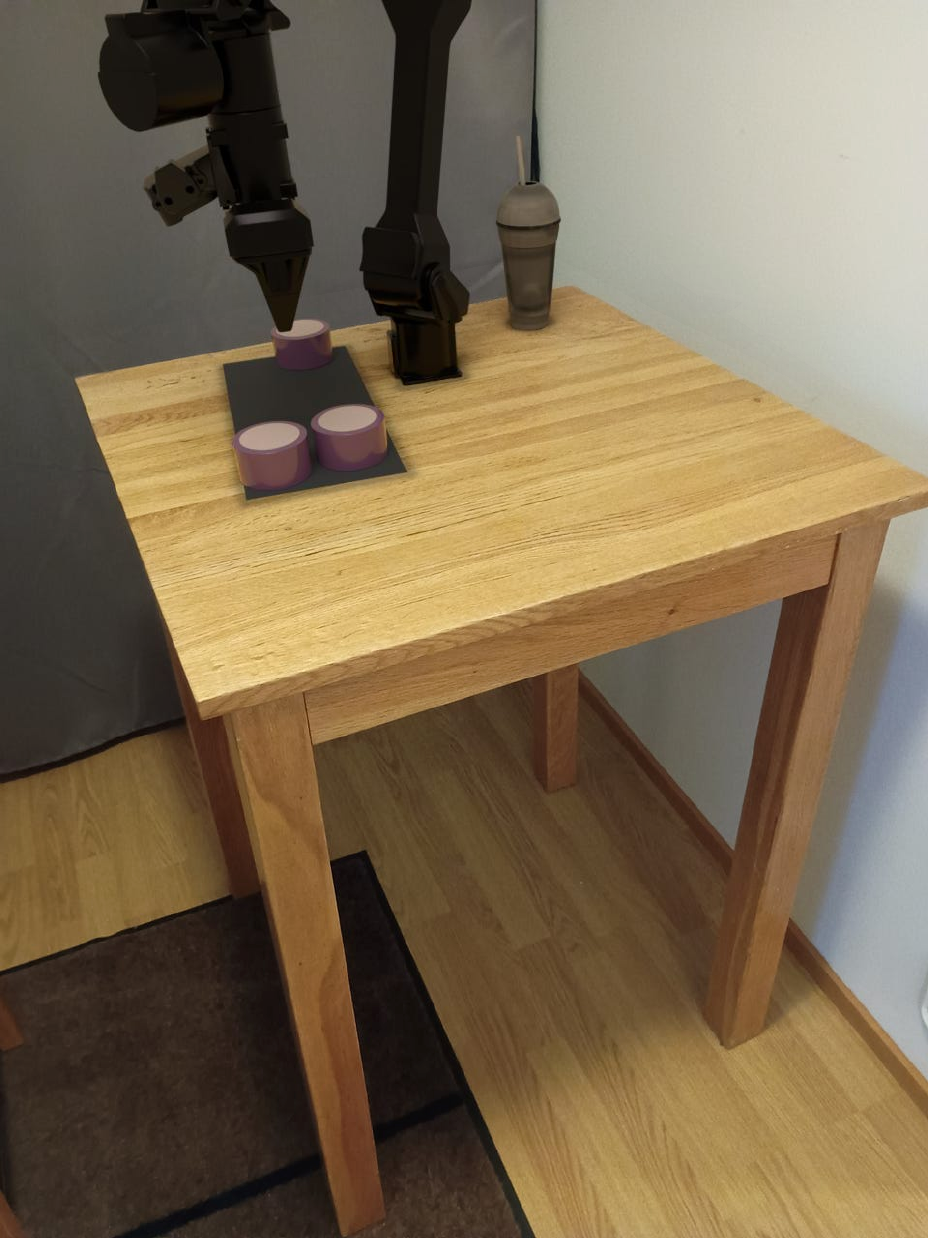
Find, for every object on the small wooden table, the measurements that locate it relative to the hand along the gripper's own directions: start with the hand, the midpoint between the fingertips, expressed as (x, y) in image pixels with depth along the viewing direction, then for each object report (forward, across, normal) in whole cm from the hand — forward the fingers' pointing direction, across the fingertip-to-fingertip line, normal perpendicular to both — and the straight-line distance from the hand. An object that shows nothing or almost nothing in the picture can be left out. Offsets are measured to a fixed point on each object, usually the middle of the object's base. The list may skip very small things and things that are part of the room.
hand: (280, 313), depth 79 cm
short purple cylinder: (+12, -22, +2) cm, 25 cm away
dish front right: (+12, +5, -3) cm, 14 cm away
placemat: (+12, -8, +1) cm, 15 cm away
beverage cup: (+13, -24, +29) cm, 40 cm away
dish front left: (+12, +4, +4) cm, 13 cm away
